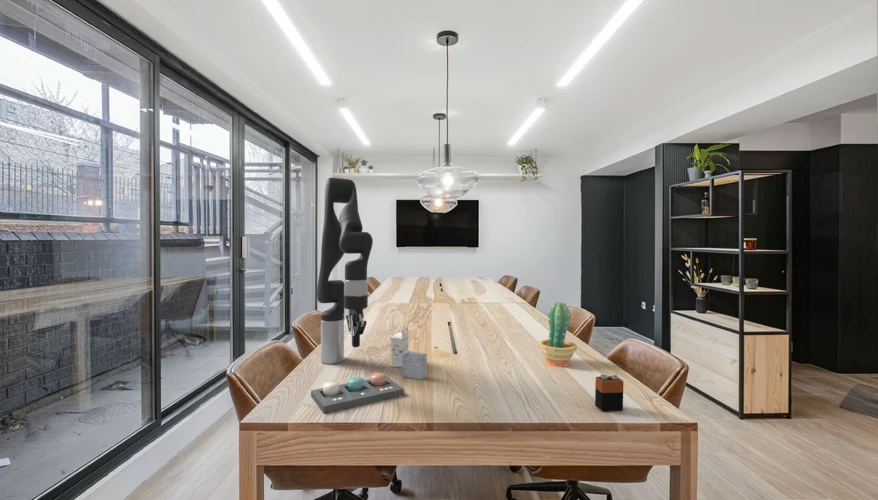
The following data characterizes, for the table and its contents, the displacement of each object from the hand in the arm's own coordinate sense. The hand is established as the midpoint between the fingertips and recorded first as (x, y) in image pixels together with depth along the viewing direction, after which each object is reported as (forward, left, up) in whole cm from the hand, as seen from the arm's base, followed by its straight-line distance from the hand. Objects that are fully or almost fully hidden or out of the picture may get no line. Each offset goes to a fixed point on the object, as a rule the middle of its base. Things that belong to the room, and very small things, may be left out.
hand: (355, 346), depth 127 cm
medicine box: (-4, +24, -16) cm, 29 cm away
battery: (+50, +61, -16) cm, 80 cm away
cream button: (0, -8, -14) cm, 16 cm away
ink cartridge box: (-20, +26, -16) cm, 36 cm away
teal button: (0, 0, -14) cm, 14 cm away
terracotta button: (0, +8, -14) cm, 16 cm away
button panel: (+2, 0, -15) cm, 16 cm away
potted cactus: (+12, +82, -16) cm, 84 cm away
